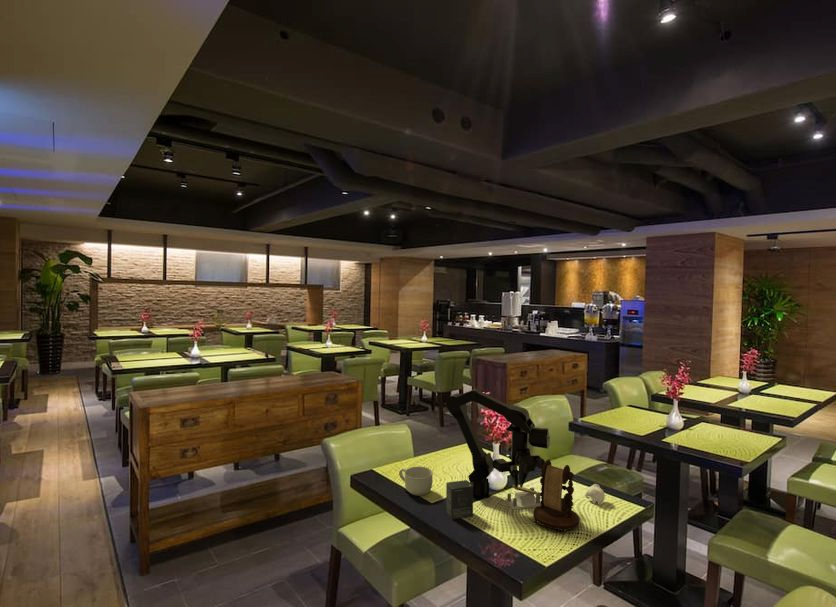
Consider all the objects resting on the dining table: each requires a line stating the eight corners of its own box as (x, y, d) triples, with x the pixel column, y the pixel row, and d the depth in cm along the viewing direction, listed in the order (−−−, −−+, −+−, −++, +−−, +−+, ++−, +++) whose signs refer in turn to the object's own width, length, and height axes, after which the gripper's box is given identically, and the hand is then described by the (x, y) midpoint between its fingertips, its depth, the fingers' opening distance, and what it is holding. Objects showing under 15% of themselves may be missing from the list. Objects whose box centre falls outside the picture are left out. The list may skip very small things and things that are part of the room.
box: (466, 509, 157) (466, 479, 157) (473, 517, 152) (473, 485, 152) (445, 512, 155) (446, 481, 155) (451, 520, 149) (452, 488, 149)
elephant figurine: (586, 496, 169) (586, 480, 169) (608, 501, 165) (609, 485, 165) (582, 503, 163) (582, 487, 163) (606, 508, 159) (606, 492, 159)
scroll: (524, 522, 148) (525, 462, 148) (545, 508, 159) (546, 451, 159) (567, 539, 138) (568, 475, 138) (586, 522, 149) (587, 462, 149)
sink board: (514, 509, 157) (514, 497, 157) (504, 501, 164) (504, 489, 164) (543, 505, 161) (544, 493, 161) (533, 497, 168) (533, 486, 168)
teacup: (438, 492, 171) (438, 471, 171) (419, 501, 163) (419, 479, 163) (411, 481, 180) (411, 462, 180) (392, 490, 172) (392, 469, 172)
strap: (515, 490, 160) (516, 487, 160) (511, 486, 162) (512, 484, 162) (537, 495, 162) (538, 492, 163) (533, 492, 165) (534, 489, 165)
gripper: (507, 453, 151) (506, 499, 151) (555, 449, 157) (554, 493, 157) (492, 443, 162) (491, 486, 162) (537, 439, 167) (536, 481, 167)
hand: (518, 487), depth 162 cm, fingers closed
